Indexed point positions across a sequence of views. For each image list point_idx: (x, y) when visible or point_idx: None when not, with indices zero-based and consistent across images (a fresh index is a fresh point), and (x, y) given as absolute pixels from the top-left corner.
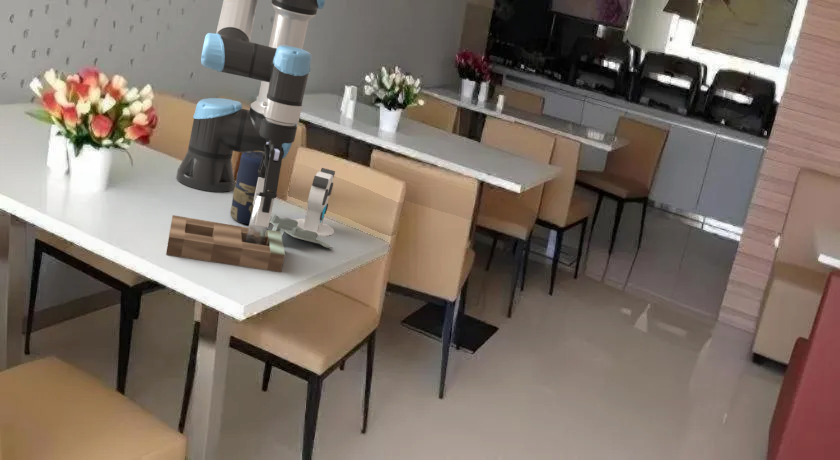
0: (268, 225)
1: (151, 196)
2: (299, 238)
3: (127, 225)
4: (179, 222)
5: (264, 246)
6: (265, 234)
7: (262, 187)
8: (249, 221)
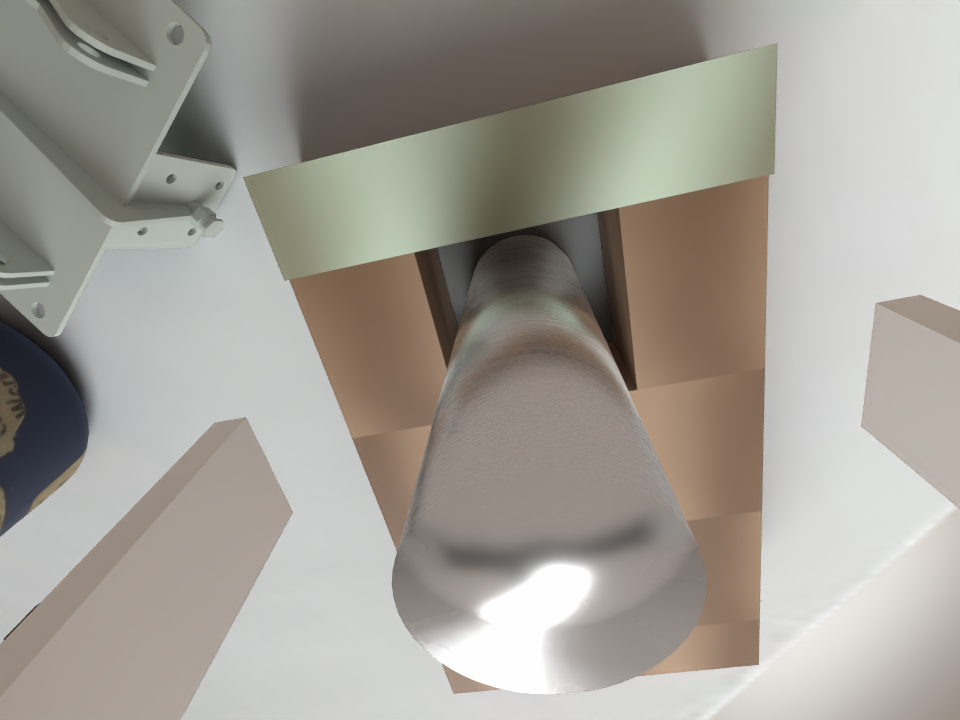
0: (934, 303)
1: None
2: None
3: (494, 713)
4: None
5: (645, 241)
6: (549, 278)
7: (140, 667)
8: (66, 393)
